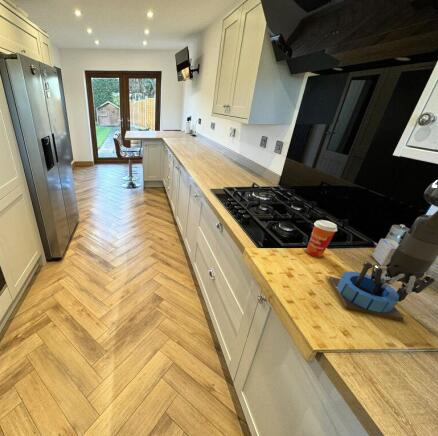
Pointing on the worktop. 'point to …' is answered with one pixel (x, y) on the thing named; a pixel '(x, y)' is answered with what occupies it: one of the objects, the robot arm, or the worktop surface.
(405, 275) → the robot arm
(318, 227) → the paper cup
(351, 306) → the brown peg stand
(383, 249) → the medicine box
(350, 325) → the worktop surface
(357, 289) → the blue notched ring
